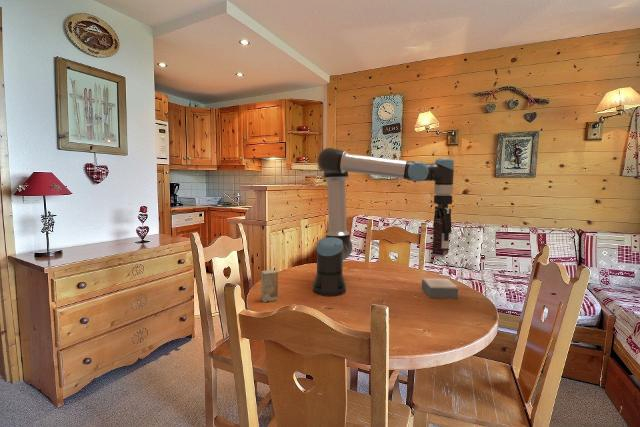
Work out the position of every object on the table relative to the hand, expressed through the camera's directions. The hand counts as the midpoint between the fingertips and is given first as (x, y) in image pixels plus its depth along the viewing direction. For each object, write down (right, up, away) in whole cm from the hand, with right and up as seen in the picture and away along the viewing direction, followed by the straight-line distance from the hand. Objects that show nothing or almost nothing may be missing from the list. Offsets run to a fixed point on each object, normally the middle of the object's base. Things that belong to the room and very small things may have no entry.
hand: (441, 245), depth 142 cm
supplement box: (0, -4, 0) cm, 4 cm away
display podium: (0, -21, +2) cm, 22 cm away
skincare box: (-74, -22, -7) cm, 78 cm away
